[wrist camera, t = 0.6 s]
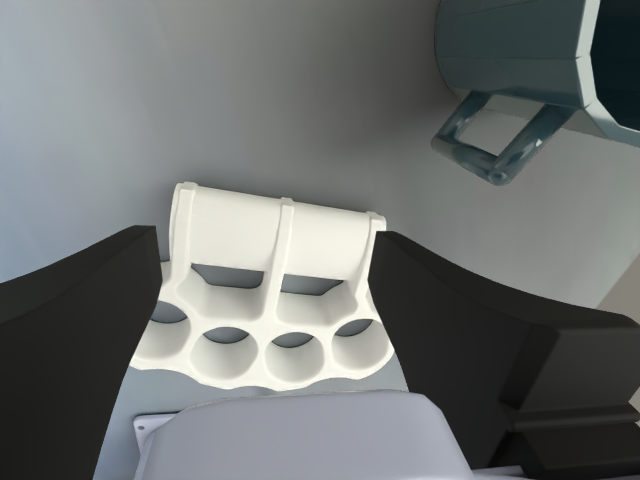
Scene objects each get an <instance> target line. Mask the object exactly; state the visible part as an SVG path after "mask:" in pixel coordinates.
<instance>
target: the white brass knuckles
mask: <svg viewBox="0 0 640 480" xmlns="http://www.w3.org/2000/svg"><path fill="white" fill-rule="evenodd" d="M376 231H386V220H385V218H384V216H380V215H377V213H376V212H371V211H366V212H365V213H362V212H355V211H349V210H343V209H337V208H331V207H325V206H319V205H312V204H306V203H300V202H294V201H293V200H292V199H291V198H285V197H281V198H280V199H276V198H269V197H263V196H257V195H251V194H245V193H239V192H232V191H226V190H220V189H214V188H208V187H201V186H198V184H197V183H193V182H187V181H185V182H184V183H177V185H176V188H175V191H174V196H173V202H172V209H171V217H170V229H169V252H170V259H171V260H170V261H167V262H161V270H162V277H163V282H162V286H161V290H160V294H159V297H158V300H160V301H164V302H168V303H171V304H173V305H175V306H177V307H178V308H180V309H181V310H182V311H183V312H184V313H185V314H186V315H187V318H186V319H184V320H182V321H180V322H177V323H170V324H165V323H158V322H155V321H152V320H149V323H148V325H147V327H146V329H145V331H144V333H143V336H142V338H141V340H140V342H139V344H138V346H137V348H136V351H135V353H134V355H133V357H132V359H131V361H130V364H129V365H130V366H132V367H134V368H137V369H139V370H147V369H167V370H173V371H177V372H180V373H183V374H186V375H188V376H190V377H192V378H193V379H195V380H196V381H197V382H199V383H200V384H204V385H209V386H213V387H218V388H222V389H227V390H229V389H232V388H236V387H241V386H262V387H267V388H270V389H273V390H275V391H284V390H291V389H298V388H305V387H306V386H308V385H310V384H312V383H314V382H317V381H319V380H323V379H327V378H334V377H345V378H351V379H354V380H357V379H361V378H364V377H366V376H369V375H371V374H373V373H374V372H376V371H377V370H379V369H380V368H381V367H383V366H384V365H385V364H386V363H387V362H388V360H389V359H390V358H391V356H392V354H393V352H394V348H393V346H392V344H391V342H390V339H389V337H388V335H387V333H386V330H385V328H384V326H383V324H382V322H381V319H380V317H379V315H378V313H377V310H376V308H375V306H374V303H373V300H372V297H371V293H370V289H369V287H368V286H369V285H368V281H367V278H368V273H369V267H370V262H371V257H372V251H373V246H374V241H375V235H376ZM192 263H195V264H203V265H212V266H221V267H230V268H239V269H248V270H257V271H264V275H263V281H262V283H261V285H260V286H258V287H257V288H254V289H244V288H234V287H224V286H214V285H210V284H208V283H206V282H205V281H204V279H203V278H202V277H201V276H200V275H199V274H198V273H197V272H196V271H195V270H193V269H192V268H191V264H192ZM284 274H292V275H301V276H310V277H319V278H328V279H337V280H344V282H343V283H341V284H340V285H337V286H335V287H333V288H332V289H330V290H329V291H327V292H326V293H325V294H323V295H320V296H313V295H303V294H293V293H284V292H280V289H281V284H282V280H283V275H284ZM357 319H373V321H372V323H371V325H370V326H369V327H368V328H367V329H366V330H364V331H363V332H361V333H359V334H357V335H354V336H349V337H341V336H337V335H334V334H335V332H336V331H337V330H338V329H339V328H340V327H341V326H343V325H344V324H346V323H348V322H350V321H353V320H357ZM218 327H235V328H239V329H242V330H244V331H246V332H248V333H249V335H248V336H247V337H246V338H245V339H243V340H241V341H239V342H236V343H231V344H221V343H216V342H213V341H211V340H209V339H207V338H206V337H205V336H204V335H203V334H204V333H205V332H207V331H209V330H211V329H214V328H218ZM290 332H303V333H307V334H310V335H312V336H314V337H313V338H312V339H311V340H310V341H309V342H307V343H306V344H304V345H301V346H298V347H294V348H284V347H280V346H277V345H275V344H273V343H272V342H271V341H272V340H273V339H275V338H276V337H278V336H280V335H283V334H286V333H290Z"/></svg>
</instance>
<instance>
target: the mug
mask: <svg viewBox="0 0 640 480" xmlns="http://www.w3.org/2000/svg"><path fill="white" fill-rule="evenodd" d="M434 40H435V53H436V59H437V63H438V66H439V70H440V72H441V75H442V77H443V79H444V81H445V82H446V84H447V85H448V87H449V88H450V89H451V90H452V92H453V93H454V94H455V95H456V96H458V97H459V98H460V99H461V100H463V101H462V102H461V104H460V105H459V106H458V107H457V108H456V110H455V111H454V112H453V113H452V115H451V116H450V117H449V118H448V120H447V121H446V122H445V123H444V125H443V126H442V127H441V128H440V129H439V131H438V132H437V133H436V134H435V136H434V137H433V138H432V141H431V147H432V149H433V150H434V151H436V152H437V153H439V154H441V155H442V156H444V157H446V158H448V159H449V160H451V161H453V162H455V163H456V164H458V165H460V166H462V167H463V168H465V169H467V170H469V171H470V172H472V173H474V174H475V175H477V176H479V177H481V178H482V179H484V180H486V181H488V182H489V183H491V184H493V185H495V186H503V185H506V184H508V183H510V182H511V181H512V180H513V179H514V178H515V176H516V175H517V174H518V173H519V172H520V171H521V170H522V169H523V168H524V167H525V166H526V165H527V164H528V163H529V162H530V160H531V159H532V158H533V157H534V156H535V155H536V154H537V153H538V152H539V151H540V150H541V149H542V148H543V147H544V146H545V144H546V143H547V142H548V141H549V140H550V139H551V138H552V137H553V136H554V135H555V134H556V133H557V132H558V131H559V130H560V128H563V129H567V130H571V131H575V132H579V133H583V134H587V135H590V136H594V137H598V138H602V139H606V140H610V141H614V142H618V143H622V144H626V145H630V146H634V147H638V148H640V0H441V2H440V5H439V9H438V13H437V18H436V24H435V37H434ZM482 108H484V109H488V110H492V111H496V112H500V113H504V114H508V115H512V116H515V117H519V118H523V119H527V120H530V121H529V122H528V123H527V124H526V126H525V127H524V128H523V129H522V130H521V131H520V132H519V133H518V134H517V136H516V137H515V138H514V139H513V140H512V141H511V142H510V143H509V145H508V146H507V147H506V148H505V149H504V150H503V151H502V152H501V153H500V155H499V156H498V157H497V156H495V155H493V154H491V153H488V152H486V151H484V150H482V149H479V148H477V147H475V146H473V145H470V144H468V143H466V142H464V141H461V140H459V139H457V138H458V137H459V136H460V135H461V133H462V132H463V131H464V130H465V129H466V127H467V126H468V125H469V124H470V123H471V121H472V120H473V119H474V118H475V117H476V115H477V114H478V113H479V112H480V111H481V109H482Z"/></svg>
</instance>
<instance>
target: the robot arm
mask: <svg viewBox="0 0 640 480" xmlns="http://www.w3.org/2000/svg"><path fill="white" fill-rule="evenodd" d="M367 281H368V285H369V289H370V293H371V297H372V300H373V303H374V306H375V308H376V310H377V313H378V315H379V317H380V319H381V322H382V324H383V326H384V328H385V330H386V333H387V335H388V337H389V339H390V342H391V344H392V346H393V348H394V350H395V353H396V355H397V357H398V360H399V362H400V365H401V367H402V371H403V374H404V377H405V380H406V383H407V386H408V389H409V392H405V391H398V390H391V389H379V390H361V391H344V392H327V393H310V394H292V395H275V396H258V397H240V398H225V399H221V400H216V401H212V402H208V403H204V404H199V405H195V406H191V407H188V408H186V409H183V410H182V411H181V412H179V413H177V414H160V415H143V416H138V417H136V418H135V420H134V423H133V424H134V429H135V433H136V437H137V442H138V446H139V451H140V455H141V457H140V461H139V464H138V467H137V471H136V474H135V477H134V480H640V427H639V426H638V425H637V424H636V423H635V422H638V421H639V420H640V413H639V412H638V411H637V410H636V409H635V408H634V407H633V406H632V405H631V404H630V403H629V402H628V401H629V400H630V399H631V397H632V396H633V395H634V393H635V392H636V391H637V389H638V388H639V387H640V325H639V324H638V323H637V322H635V321H634V320H632V319H631V318H629V317H627V316H625V315H622V314H616V313H612V312H606V311H601V310H596V309H591V308H586V307H581V306H576V305H572V304H567V303H563V302H559V301H556V300H552V299H548V298H544V297H540V296H537V295H533V294H530V293H527V292H524V291H521V290H518V289H515V288H512V287H509V286H506V285H503V284H500V283H497V282H495V281H492V280H490V279H487V278H485V277H482V276H480V275H478V274H475V273H473V272H471V271H469V270H466V269H464V268H462V267H460V266H458V265H456V264H454V263H452V262H450V261H448V260H446V259H444V258H443V257H441V256H439V255H437V254H435V253H433V252H432V251H430V250H428V249H426V248H425V247H423V246H421V245H419V244H418V243H416V242H414V241H412V240H411V239H409V238H407V237H405V236H403V235H401V234H399V233H397V232H394V231H376V235H375V241H374V246H373V251H372V257H371V262H370V267H369V273H368V278H367ZM162 282H163V277H162V270H161V262H160V255H159V248H158V241H157V233H156V226H141V225H134V226H131V227H129V228H126V229H124V230H122V231H120V232H118V233H116V234H114V235H112V236H110V237H108V238H106V239H104V240H102V241H100V242H98V243H96V244H94V245H92V246H90V247H88V248H86V249H84V250H82V251H79V252H77V253H75V254H73V255H71V256H68V257H66V258H64V259H62V260H60V261H57V262H55V263H53V264H51V265H49V266H46V267H44V268H41V269H39V270H36V271H34V272H31V273H28V274H26V275H23V276H20V277H17V278H15V279H12V280H9V281H6V282H3V283H0V480H93V476H94V472H95V469H96V465H97V462H98V458H99V454H100V451H101V447H102V444H103V441H104V437H105V434H106V431H107V427H108V424H109V421H110V418H111V414H112V411H113V408H114V405H115V402H116V399H117V396H118V393H119V390H120V387H121V384H122V381H123V378H124V376H125V373H126V371H127V368H128V366H129V364H130V361H131V359H132V357H133V355H134V353H135V351H136V348H137V346H138V344H139V342H140V340H141V338H142V336H143V333H144V331H145V329H146V327H147V325H148V323H149V320H150V318H151V316H152V314H153V311H154V309H155V307H156V304H157V300H158V297H159V294H160V290H161V286H162Z"/></svg>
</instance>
